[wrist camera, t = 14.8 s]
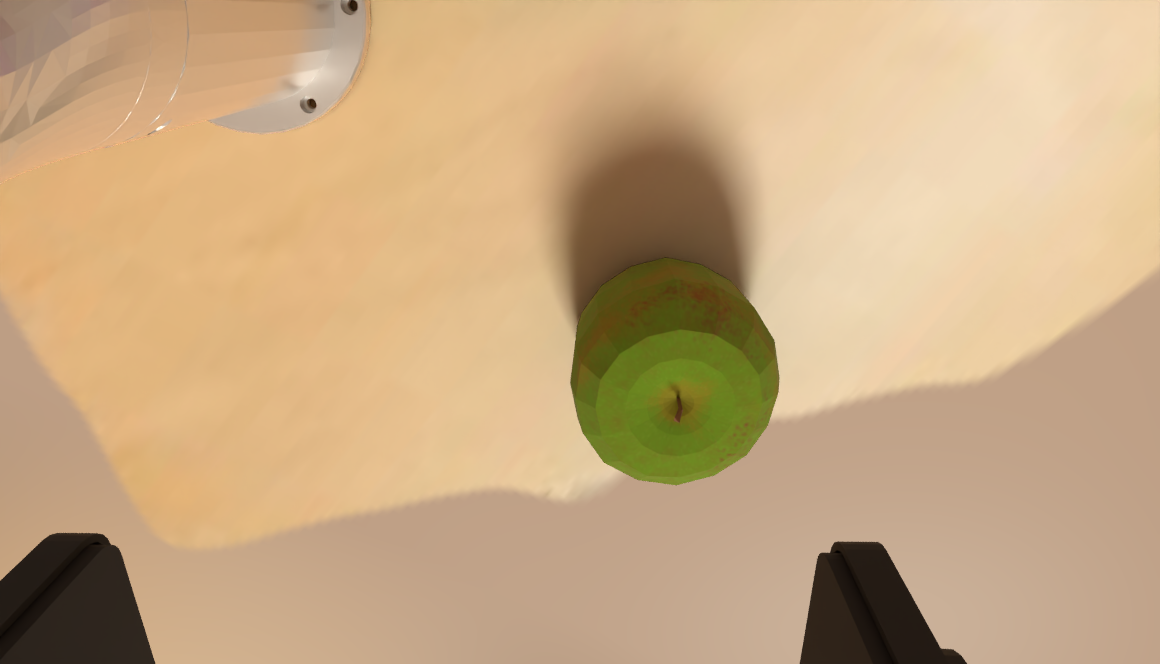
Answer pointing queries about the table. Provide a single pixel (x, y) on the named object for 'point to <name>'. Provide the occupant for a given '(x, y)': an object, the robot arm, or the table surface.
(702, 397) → the apple
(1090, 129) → the table surface
